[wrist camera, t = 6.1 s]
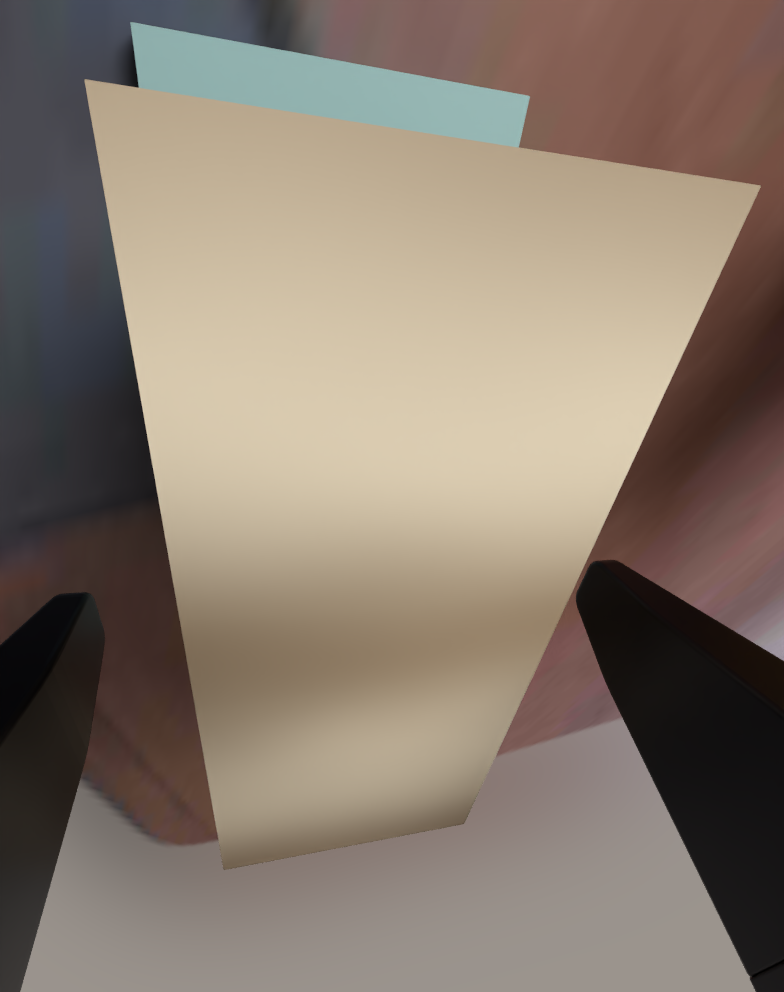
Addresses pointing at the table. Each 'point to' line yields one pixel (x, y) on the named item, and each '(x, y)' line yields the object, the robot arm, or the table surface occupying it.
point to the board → (383, 430)
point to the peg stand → (323, 87)
